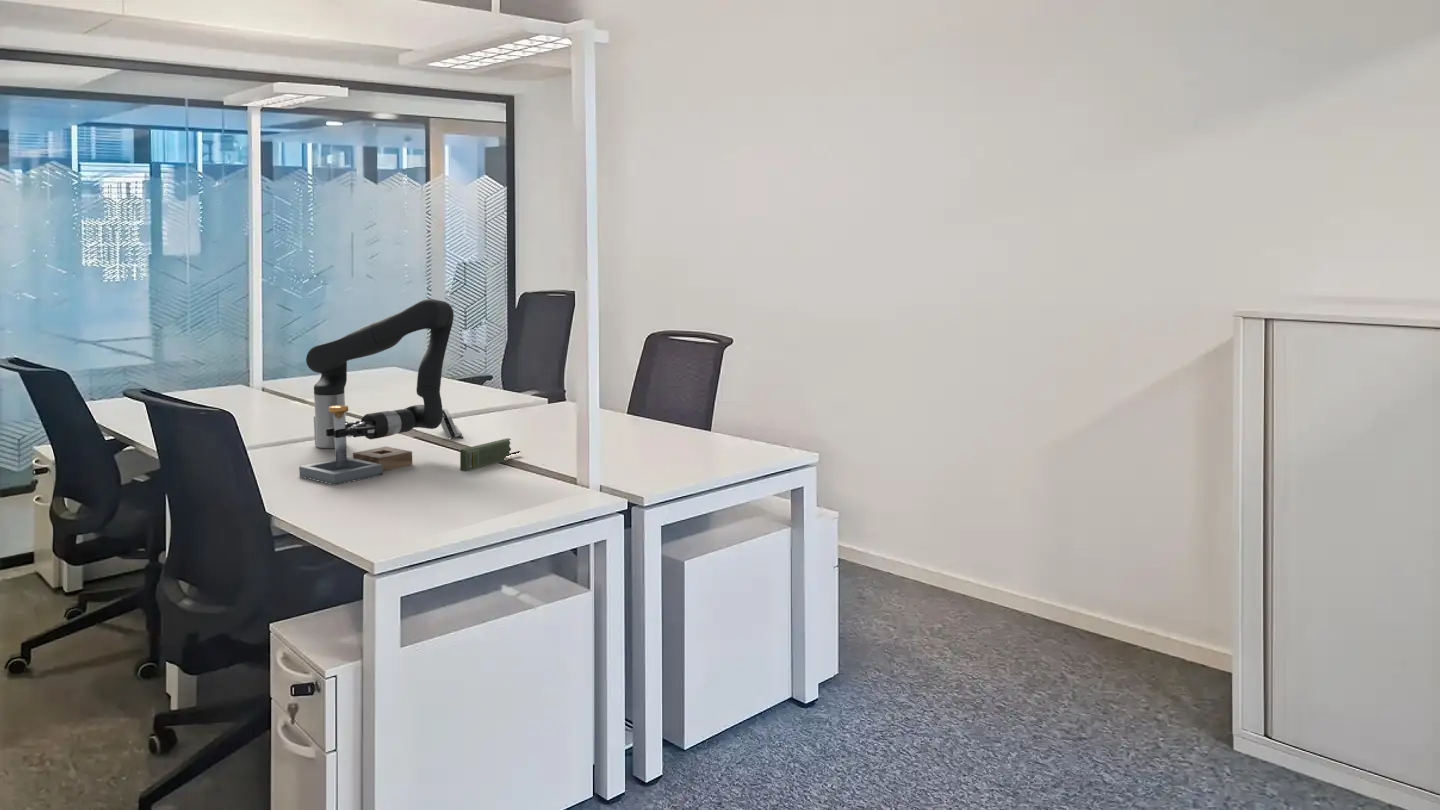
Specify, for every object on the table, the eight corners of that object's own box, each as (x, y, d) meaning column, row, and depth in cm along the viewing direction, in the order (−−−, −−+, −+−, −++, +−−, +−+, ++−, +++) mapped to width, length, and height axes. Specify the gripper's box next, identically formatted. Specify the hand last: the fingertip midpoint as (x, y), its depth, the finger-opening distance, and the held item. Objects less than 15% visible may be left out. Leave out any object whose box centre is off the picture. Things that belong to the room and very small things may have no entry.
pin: (328, 466, 304) (324, 407, 302) (343, 463, 309) (340, 404, 306) (339, 469, 302) (336, 409, 299) (355, 465, 306) (352, 406, 303)
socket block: (353, 465, 318) (352, 452, 318) (386, 459, 328) (386, 446, 327) (379, 471, 311) (378, 458, 311) (412, 464, 321) (412, 451, 321)
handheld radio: (458, 470, 315) (515, 456, 336) (466, 472, 313) (523, 457, 335) (458, 448, 314) (515, 435, 335) (466, 450, 312) (523, 436, 333)
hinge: (463, 438, 362) (452, 411, 359) (450, 443, 360) (439, 416, 358) (458, 429, 377) (447, 403, 375) (445, 434, 376) (434, 408, 373)
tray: (299, 476, 304) (299, 466, 303) (347, 467, 317) (347, 457, 316) (334, 485, 295) (334, 474, 294) (382, 474, 308) (382, 464, 307)
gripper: (365, 409, 318) (314, 417, 304) (396, 414, 311) (345, 423, 297) (366, 434, 320) (316, 443, 306) (397, 439, 312) (347, 449, 298)
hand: (331, 433), depth 301 cm, fingers closed on pin, 3 cm apart
